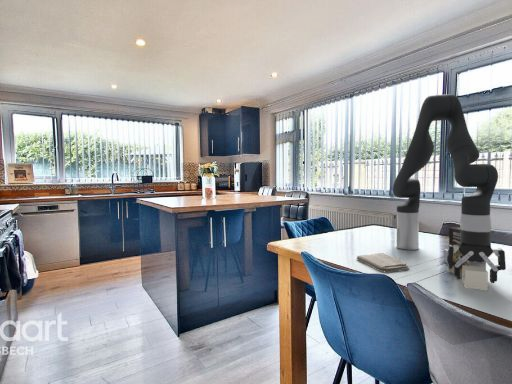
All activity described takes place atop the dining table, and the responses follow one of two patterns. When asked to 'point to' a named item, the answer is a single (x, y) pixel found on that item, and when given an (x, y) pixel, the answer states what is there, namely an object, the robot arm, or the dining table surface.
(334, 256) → the dining table surface
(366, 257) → the washcloth
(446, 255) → the slate block
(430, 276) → the dining table surface
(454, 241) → the coffee box
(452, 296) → the dining table surface
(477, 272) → the cream cube
